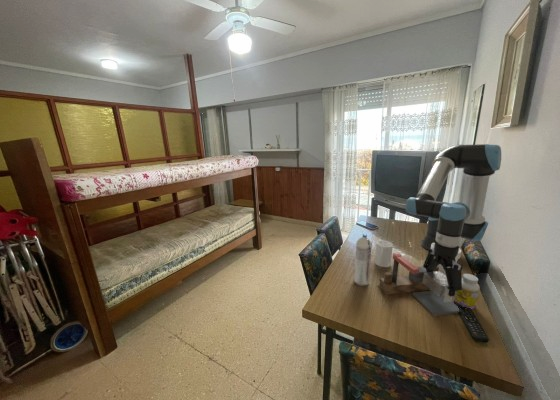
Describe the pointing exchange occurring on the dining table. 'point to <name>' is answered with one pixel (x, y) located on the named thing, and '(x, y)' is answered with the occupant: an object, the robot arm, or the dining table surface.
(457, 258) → the cup
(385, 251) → the mug
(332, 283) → the dining table surface
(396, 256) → the lever
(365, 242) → the water bottle
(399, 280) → the brown wooden stand
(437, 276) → the light grey block
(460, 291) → the supplement bottle
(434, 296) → the mat
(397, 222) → the dining table surface
